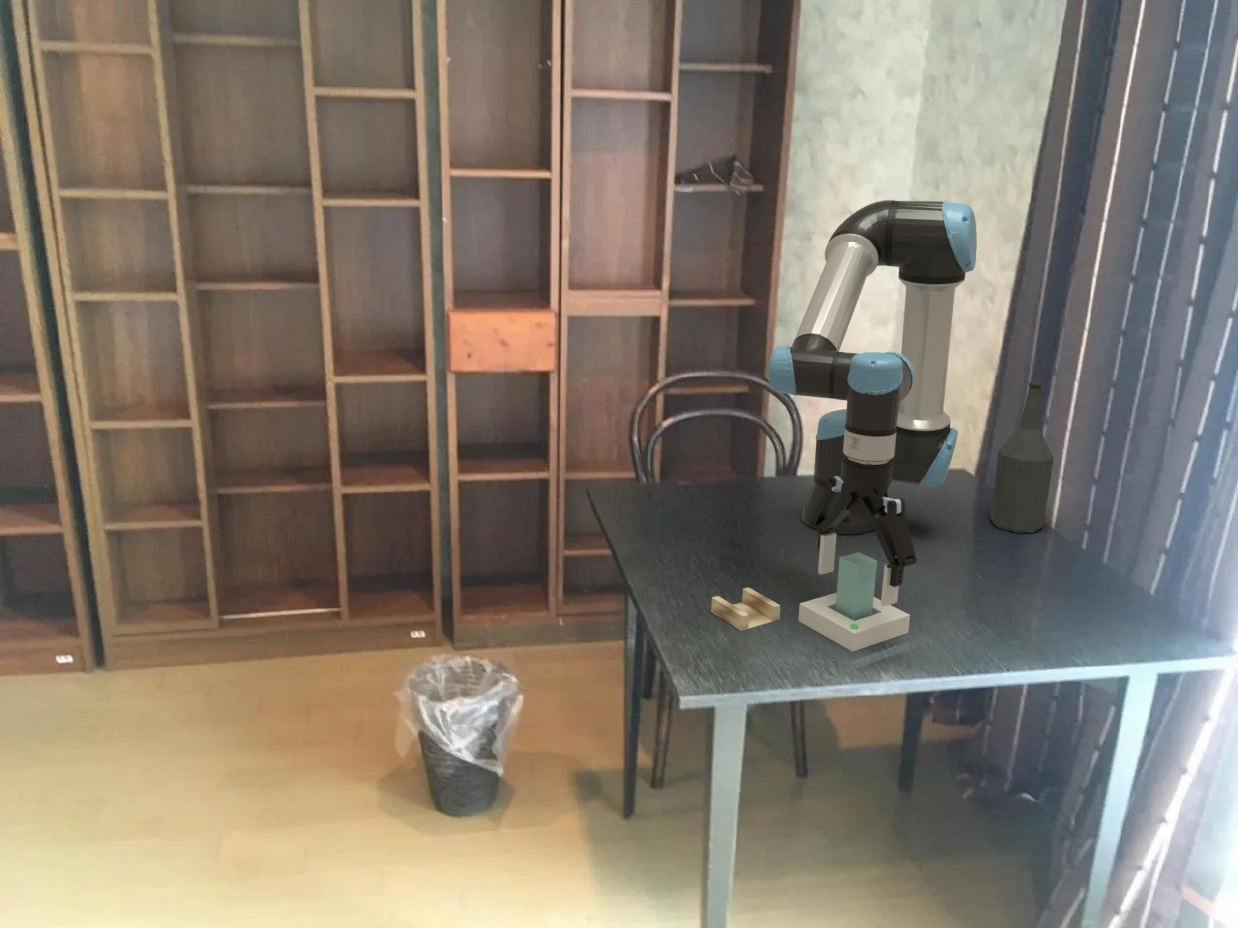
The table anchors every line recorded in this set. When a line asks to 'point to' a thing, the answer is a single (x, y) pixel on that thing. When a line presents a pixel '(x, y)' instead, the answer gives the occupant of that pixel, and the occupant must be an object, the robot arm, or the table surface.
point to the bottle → (1023, 472)
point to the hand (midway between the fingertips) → (856, 587)
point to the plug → (856, 586)
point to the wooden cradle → (746, 610)
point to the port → (853, 623)
